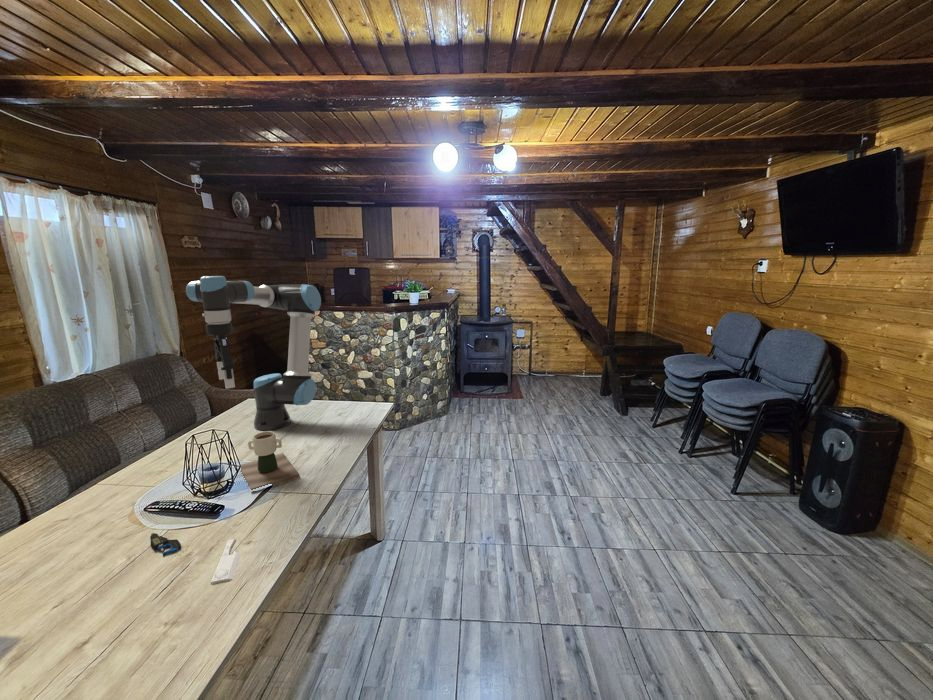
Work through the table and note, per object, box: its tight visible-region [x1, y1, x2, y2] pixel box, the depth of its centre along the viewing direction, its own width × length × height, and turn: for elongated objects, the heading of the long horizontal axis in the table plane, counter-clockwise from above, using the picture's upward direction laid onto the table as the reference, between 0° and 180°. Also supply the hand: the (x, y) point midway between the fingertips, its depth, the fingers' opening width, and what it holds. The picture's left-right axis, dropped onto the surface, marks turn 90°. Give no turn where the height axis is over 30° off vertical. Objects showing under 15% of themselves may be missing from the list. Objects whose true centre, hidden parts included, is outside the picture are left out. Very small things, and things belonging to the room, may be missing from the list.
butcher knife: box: [210, 538, 243, 585], centre depth 99 cm, size 5×15×1 cm, turn 17°
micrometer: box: [149, 532, 182, 556], centre depth 105 cm, size 12×2×5 cm
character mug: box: [247, 430, 283, 472], centre depth 139 cm, size 11×7×13 cm, turn 98°
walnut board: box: [240, 452, 300, 490], centre depth 140 cm, size 20×15×2 cm
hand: (226, 383), depth 138 cm, fingers open, 13 cm apart
